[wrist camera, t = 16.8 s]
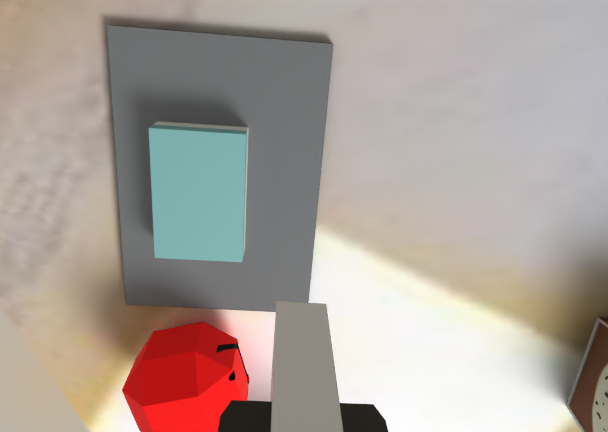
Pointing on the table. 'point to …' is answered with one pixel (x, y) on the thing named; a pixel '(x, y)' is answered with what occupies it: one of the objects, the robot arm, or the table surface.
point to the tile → (198, 190)
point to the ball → (185, 379)
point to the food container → (592, 383)
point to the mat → (260, 167)
